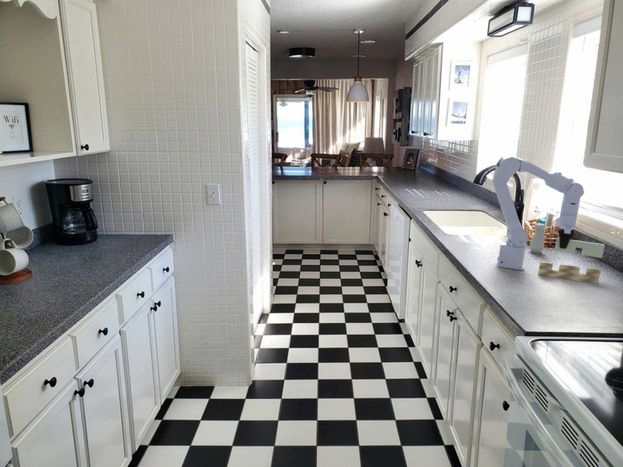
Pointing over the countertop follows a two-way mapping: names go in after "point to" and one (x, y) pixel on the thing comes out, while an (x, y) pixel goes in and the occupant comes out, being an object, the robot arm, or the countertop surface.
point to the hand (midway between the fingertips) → (562, 247)
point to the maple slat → (569, 272)
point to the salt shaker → (537, 239)
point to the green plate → (587, 248)
